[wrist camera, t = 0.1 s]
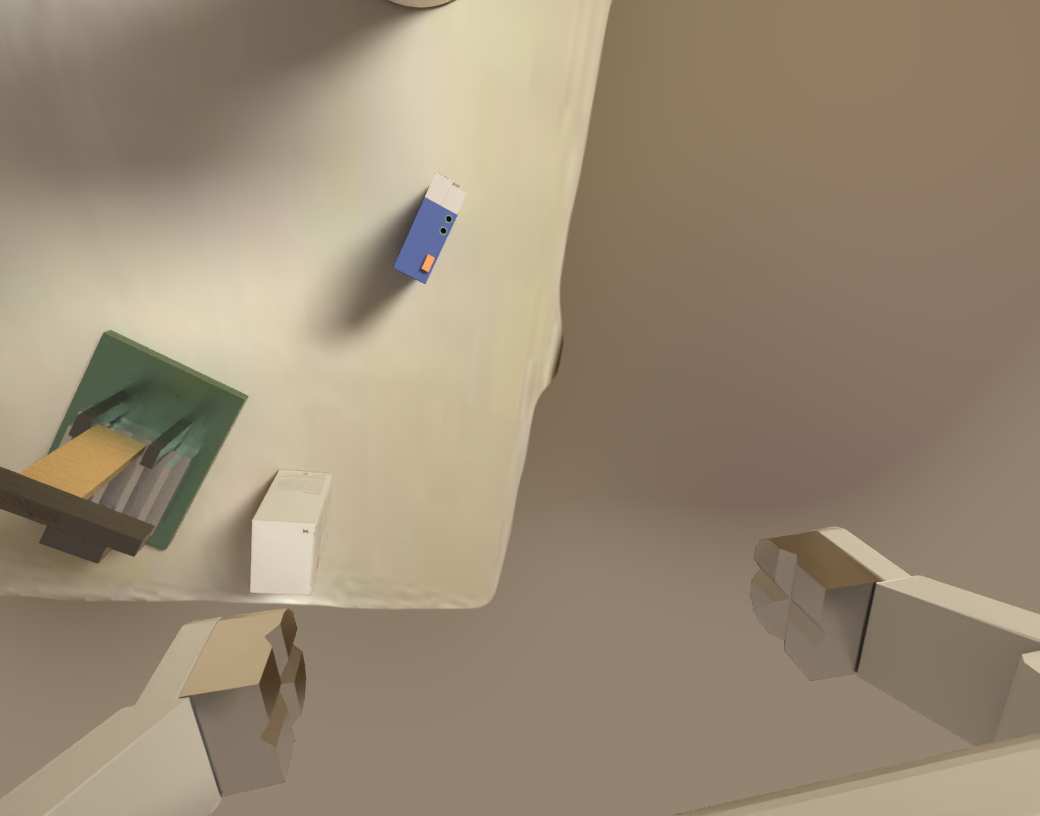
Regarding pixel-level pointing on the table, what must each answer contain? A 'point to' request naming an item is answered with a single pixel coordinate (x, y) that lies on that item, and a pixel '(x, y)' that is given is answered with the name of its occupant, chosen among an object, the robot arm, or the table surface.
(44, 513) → the lever
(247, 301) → the table surface
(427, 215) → the walkman
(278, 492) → the small box
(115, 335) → the board
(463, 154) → the table surface
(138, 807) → the robot arm
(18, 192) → the table surface
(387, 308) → the table surface
